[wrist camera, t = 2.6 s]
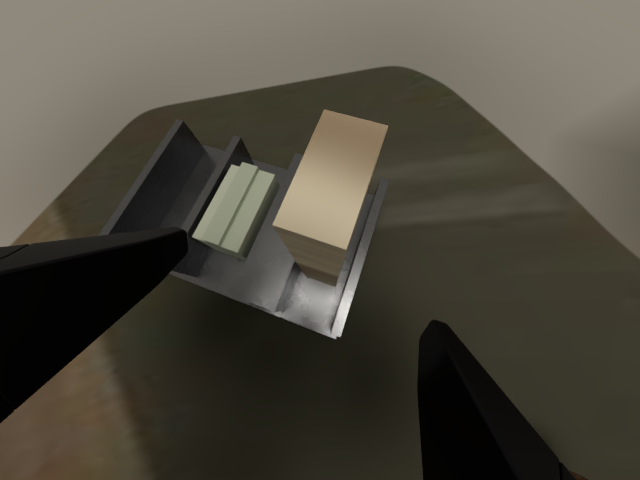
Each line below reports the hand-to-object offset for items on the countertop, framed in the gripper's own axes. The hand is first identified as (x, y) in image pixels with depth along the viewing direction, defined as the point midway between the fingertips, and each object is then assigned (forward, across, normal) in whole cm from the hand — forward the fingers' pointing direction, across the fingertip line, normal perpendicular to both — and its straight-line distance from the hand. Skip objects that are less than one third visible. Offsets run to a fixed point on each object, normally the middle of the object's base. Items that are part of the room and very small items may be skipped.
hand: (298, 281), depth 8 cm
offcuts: (+10, +7, +4) cm, 13 cm away
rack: (+10, +6, +5) cm, 13 cm away
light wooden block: (+10, 0, +4) cm, 11 cm away
